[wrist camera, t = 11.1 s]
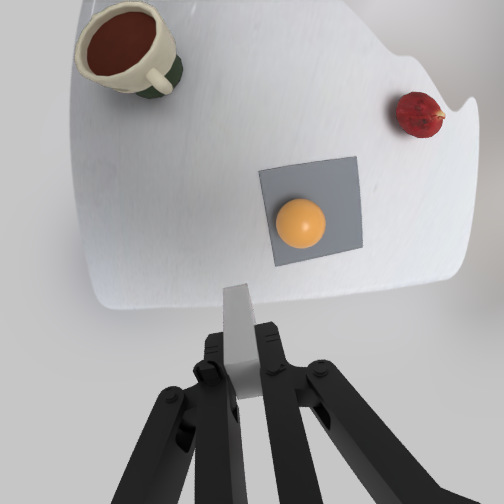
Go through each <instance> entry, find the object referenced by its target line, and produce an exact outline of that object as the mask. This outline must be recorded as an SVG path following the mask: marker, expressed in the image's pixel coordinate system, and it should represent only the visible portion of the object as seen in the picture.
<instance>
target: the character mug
mask: <svg viewBox="0 0 504 504" xmlns="http://www.w3.org/2000/svg"><path fill="white" fill-rule="evenodd" d="M74 60H75V63H76V67H77V69H78V71H79V73H80V74H81V75H82V76H84V77H85V78H87V79H89V80H91V81H94V82H96V83H98V84H101V85H103V86H104V87H110V88H112V89H114V90H115V91H117V92H122V93H134V92H135V93H136V94H137V95H138V96H141V97H145V98H148V99H150V98H158V97H162V96H164V95H168V94H171V93H172V91H173V88H174V87H175V86H176V85H177V83H178V82H179V81H180V78H181V75H182V71H183V66H182V62H181V59H180V58H179V57H178V56H177V55H176V44H175V40H174V39H173V37H172V35H171V33H170V31H169V29H168V28H167V26H166V24H165V22H164V20H163V19H162V17H161V16H160V14H159V13H158V11H157V9H156V8H155V7H153V6H151V5H149V4H147V3H145V2H143V1H124V2H121V3H118V4H115V5H112V6H109V7H108V8H106V9H104V10H103V11H101V12H100V13H96V14H94V15H93V16H92V18H91V21H90V22H89V23H88V24H87V25H86V27H85V28H84V29H83V30H82V32H81V35H80V37H79V39H78V41H77V44H76V48H75V59H74Z"/></svg>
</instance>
